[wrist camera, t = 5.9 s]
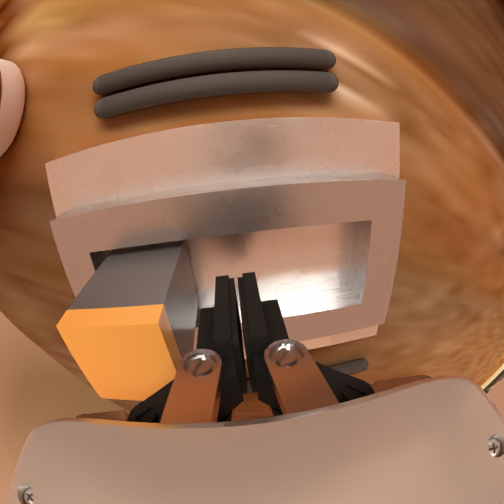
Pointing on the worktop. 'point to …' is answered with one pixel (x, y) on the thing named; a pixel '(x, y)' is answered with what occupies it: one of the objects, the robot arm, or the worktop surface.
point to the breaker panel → (239, 160)
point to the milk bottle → (10, 102)
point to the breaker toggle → (134, 320)
